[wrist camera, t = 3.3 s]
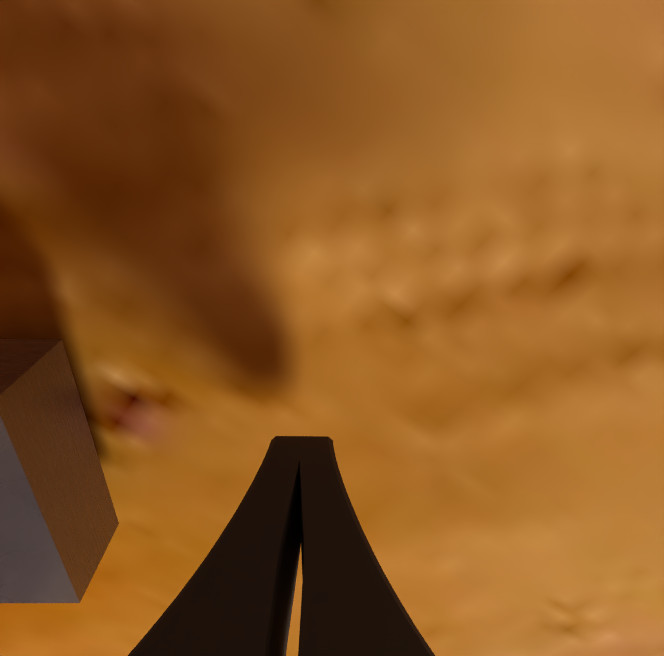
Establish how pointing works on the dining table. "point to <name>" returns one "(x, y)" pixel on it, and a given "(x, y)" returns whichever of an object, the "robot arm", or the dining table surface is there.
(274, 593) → the robot arm
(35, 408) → the grey piece
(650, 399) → the dining table surface
